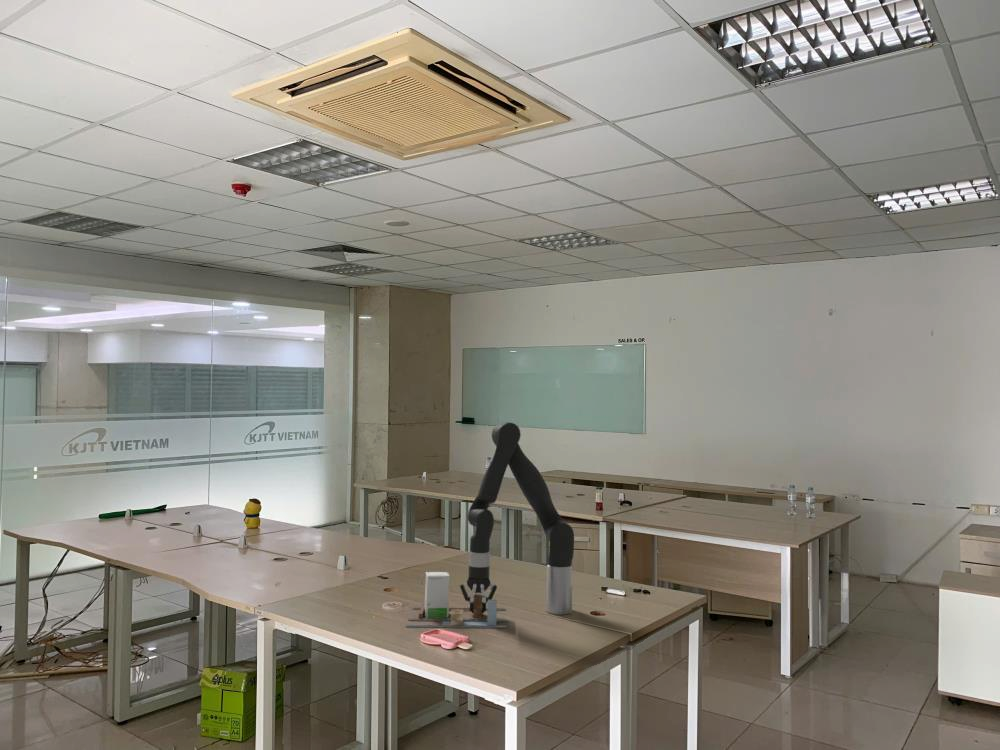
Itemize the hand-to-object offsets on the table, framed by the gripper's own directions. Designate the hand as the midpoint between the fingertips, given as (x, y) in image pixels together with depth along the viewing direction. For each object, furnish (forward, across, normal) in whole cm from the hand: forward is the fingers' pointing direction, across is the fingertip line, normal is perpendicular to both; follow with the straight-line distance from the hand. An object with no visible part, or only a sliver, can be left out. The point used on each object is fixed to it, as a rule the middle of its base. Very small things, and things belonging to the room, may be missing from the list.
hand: (477, 612), depth 250 cm
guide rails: (+2, +7, +4) cm, 8 cm away
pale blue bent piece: (+2, +3, +10) cm, 11 cm away
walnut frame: (+2, +9, 0) cm, 10 cm away
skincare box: (+2, +15, 0) cm, 15 cm away
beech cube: (+1, +7, +10) cm, 12 cm away
